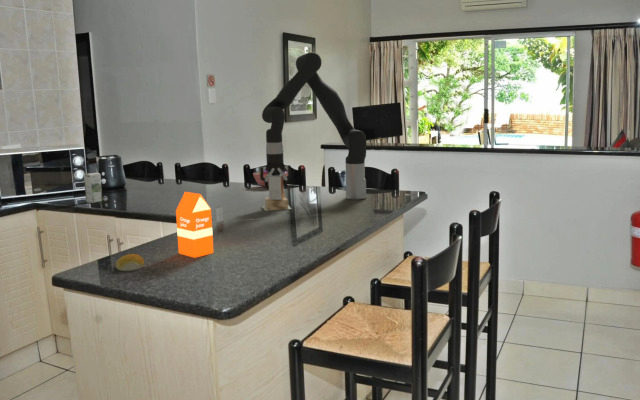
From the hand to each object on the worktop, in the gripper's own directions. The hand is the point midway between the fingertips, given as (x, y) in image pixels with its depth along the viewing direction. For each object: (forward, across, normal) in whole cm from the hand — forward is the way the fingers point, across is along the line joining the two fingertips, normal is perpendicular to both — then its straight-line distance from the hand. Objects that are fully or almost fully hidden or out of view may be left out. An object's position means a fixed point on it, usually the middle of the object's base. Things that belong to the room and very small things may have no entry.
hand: (276, 189), depth 262 cm
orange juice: (+9, +36, +67) cm, 77 cm away
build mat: (+9, 0, 0) cm, 9 cm away
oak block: (+8, 0, 0) cm, 8 cm away
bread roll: (+9, +56, +78) cm, 96 cm away
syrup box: (+9, +85, -48) cm, 98 cm away
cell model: (+9, -6, -66) cm, 67 cm away
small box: (+5, 0, 0) cm, 5 cm away
